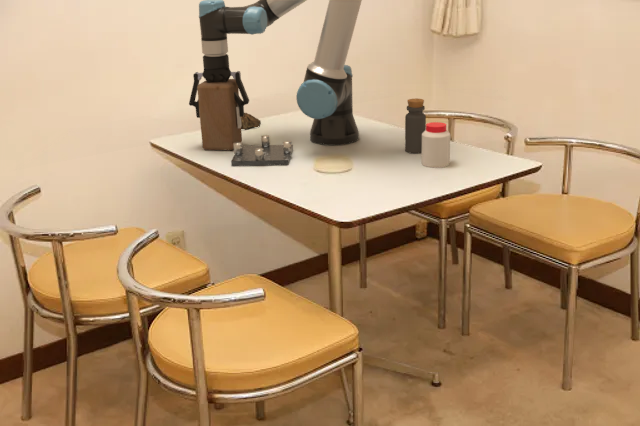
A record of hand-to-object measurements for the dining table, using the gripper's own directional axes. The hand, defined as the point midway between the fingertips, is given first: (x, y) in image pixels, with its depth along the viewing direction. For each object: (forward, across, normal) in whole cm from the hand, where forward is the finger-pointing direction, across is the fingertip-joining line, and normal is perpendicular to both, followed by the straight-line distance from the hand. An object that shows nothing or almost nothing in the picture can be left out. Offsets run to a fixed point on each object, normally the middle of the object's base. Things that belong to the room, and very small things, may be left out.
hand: (221, 127), depth 237 cm
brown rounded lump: (+6, -2, -26) cm, 27 cm away
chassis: (+6, -14, +13) cm, 20 cm away
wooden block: (+6, 0, 0) cm, 6 cm away
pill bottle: (+6, -63, +22) cm, 67 cm away
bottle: (+6, -58, +9) cm, 59 cm away
